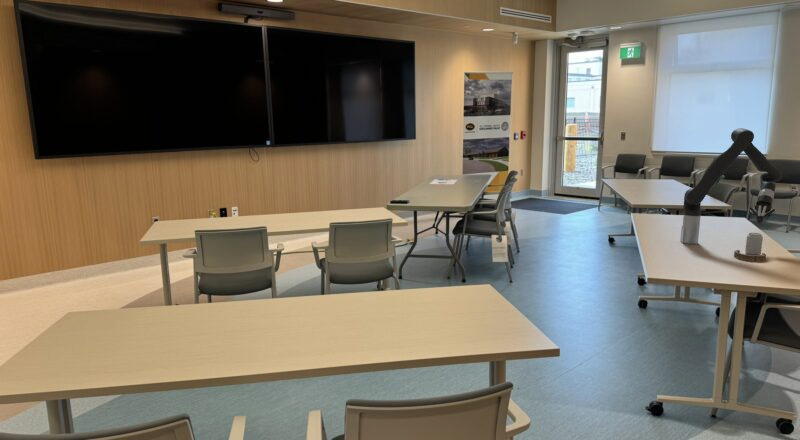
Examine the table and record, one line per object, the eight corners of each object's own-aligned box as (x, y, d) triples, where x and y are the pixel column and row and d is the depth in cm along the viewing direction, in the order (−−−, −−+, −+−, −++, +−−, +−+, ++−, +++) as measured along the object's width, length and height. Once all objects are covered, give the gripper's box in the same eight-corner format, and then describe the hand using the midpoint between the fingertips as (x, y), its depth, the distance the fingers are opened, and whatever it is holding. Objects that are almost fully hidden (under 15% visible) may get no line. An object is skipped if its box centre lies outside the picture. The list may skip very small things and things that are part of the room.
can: (753, 256, 301) (755, 235, 298) (741, 253, 308) (744, 232, 305) (764, 255, 303) (766, 234, 300) (752, 252, 310) (754, 231, 307)
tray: (738, 260, 292) (739, 255, 291) (731, 254, 304) (731, 249, 304) (769, 262, 288) (770, 256, 287) (760, 256, 301) (761, 251, 300)
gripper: (751, 193, 318) (745, 217, 312) (778, 195, 309) (772, 220, 303) (752, 201, 323) (746, 225, 316) (779, 203, 314) (773, 227, 307)
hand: (759, 222), depth 310 cm, fingers closed
